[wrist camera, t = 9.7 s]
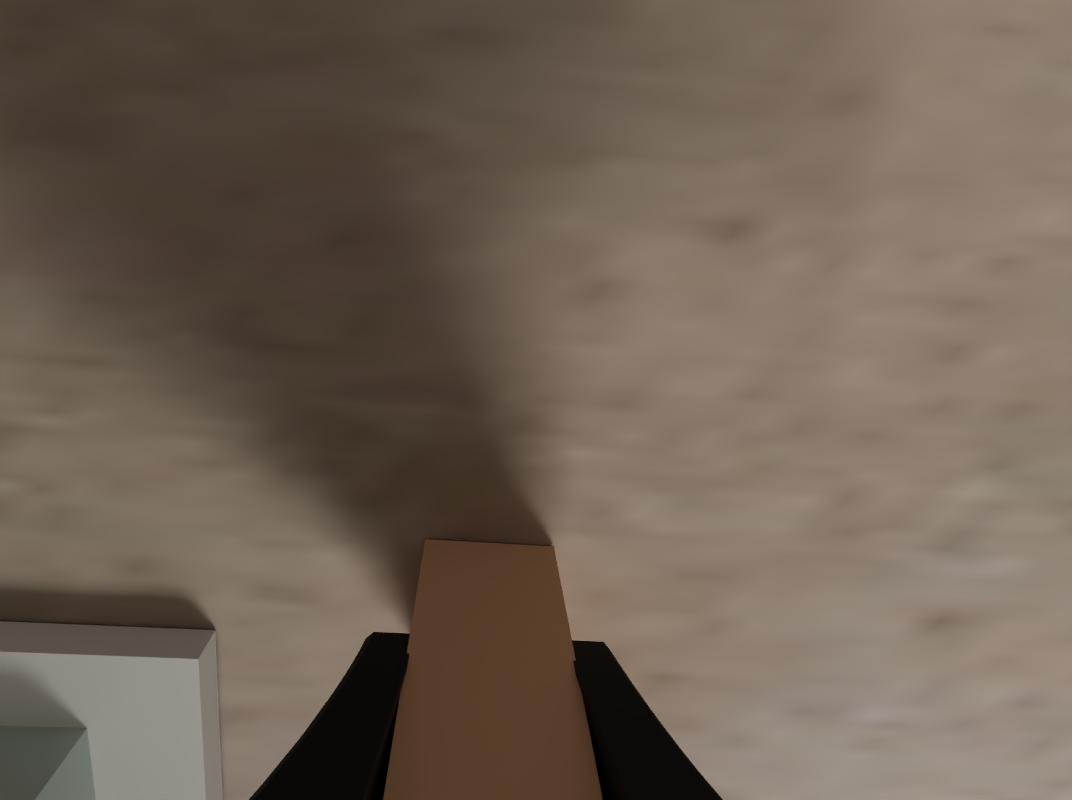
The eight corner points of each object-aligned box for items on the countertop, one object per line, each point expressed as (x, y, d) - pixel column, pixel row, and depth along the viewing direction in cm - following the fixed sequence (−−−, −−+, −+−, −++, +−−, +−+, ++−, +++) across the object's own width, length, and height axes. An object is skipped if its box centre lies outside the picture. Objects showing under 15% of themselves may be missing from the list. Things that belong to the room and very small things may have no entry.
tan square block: (540, 652, 13) (589, 1059, 7) (418, 647, 13) (359, 1064, 7) (553, 546, 13) (621, 897, 6) (424, 539, 12) (366, 897, 6)
